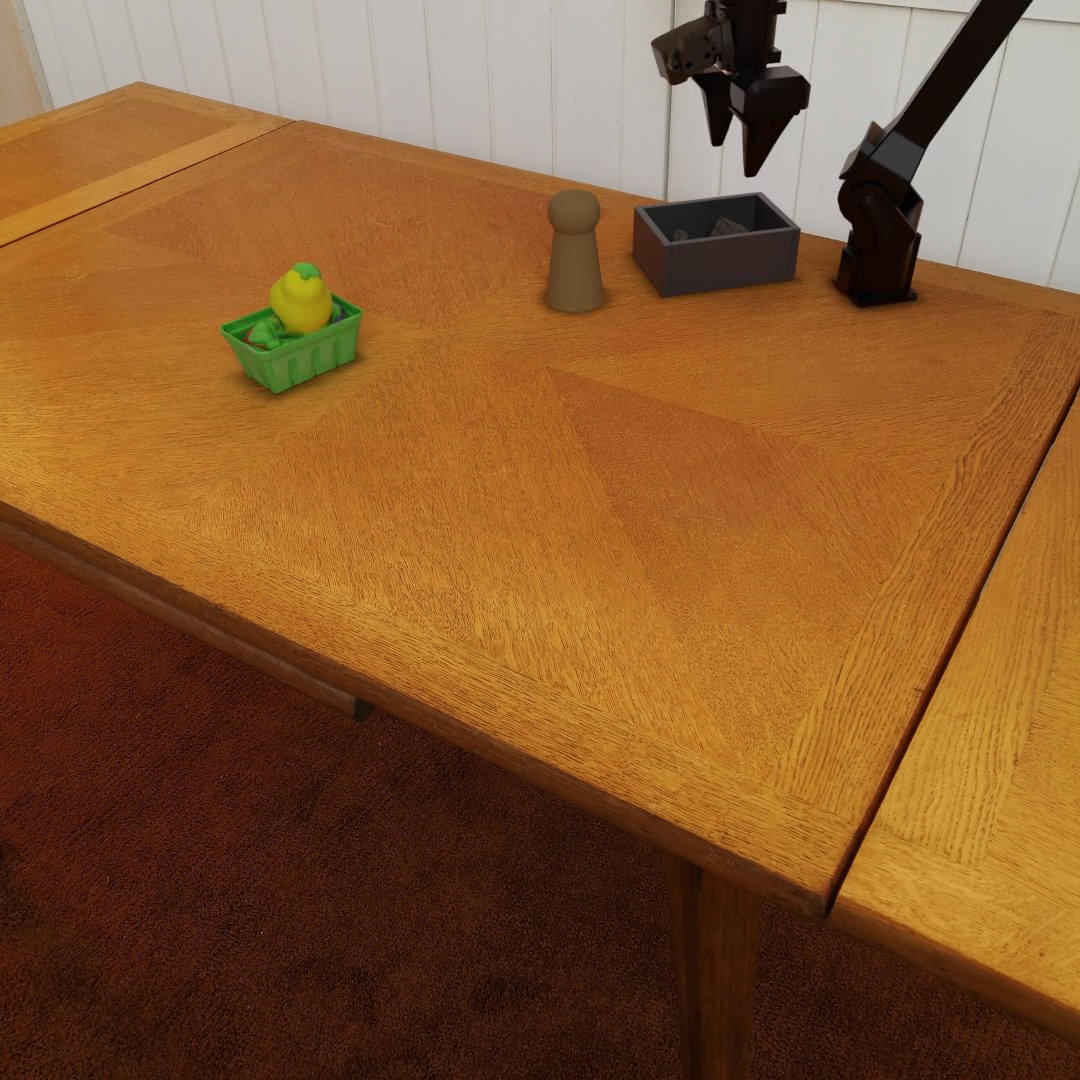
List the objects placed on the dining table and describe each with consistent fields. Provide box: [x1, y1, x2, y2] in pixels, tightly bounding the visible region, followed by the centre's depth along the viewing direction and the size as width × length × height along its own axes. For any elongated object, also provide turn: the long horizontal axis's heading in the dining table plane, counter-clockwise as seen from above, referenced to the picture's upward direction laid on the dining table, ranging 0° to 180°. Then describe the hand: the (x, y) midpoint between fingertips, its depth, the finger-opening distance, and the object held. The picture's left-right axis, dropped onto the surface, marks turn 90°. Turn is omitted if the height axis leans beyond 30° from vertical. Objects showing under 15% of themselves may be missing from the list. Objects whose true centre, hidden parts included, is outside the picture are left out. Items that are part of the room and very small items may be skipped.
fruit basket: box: [219, 261, 364, 395], centre depth 91 cm, size 11×9×11 cm
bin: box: [632, 191, 802, 298], centre depth 107 cm, size 15×11×6 cm
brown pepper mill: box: [545, 188, 605, 313], centre depth 100 cm, size 6×6×11 cm
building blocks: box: [672, 217, 750, 241], centre depth 107 cm, size 3×6×8 cm
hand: (732, 160), depth 100 cm, fingers open, 9 cm apart
